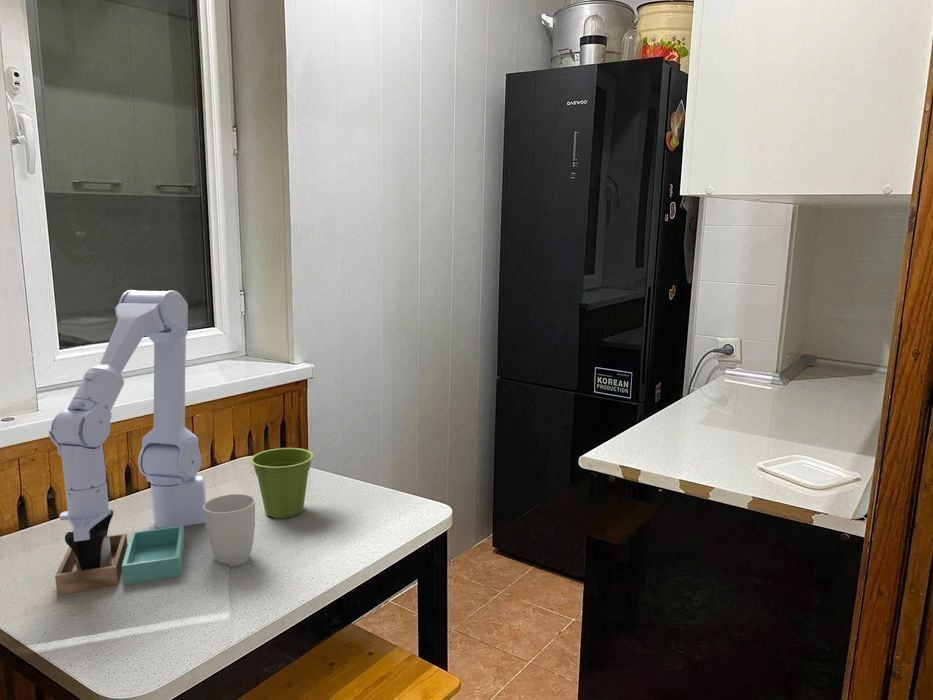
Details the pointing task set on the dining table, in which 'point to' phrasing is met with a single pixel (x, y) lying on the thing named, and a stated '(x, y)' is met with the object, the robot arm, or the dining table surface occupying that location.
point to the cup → (231, 527)
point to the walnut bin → (91, 570)
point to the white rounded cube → (102, 554)
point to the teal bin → (154, 555)
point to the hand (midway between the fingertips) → (94, 565)
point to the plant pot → (282, 479)
